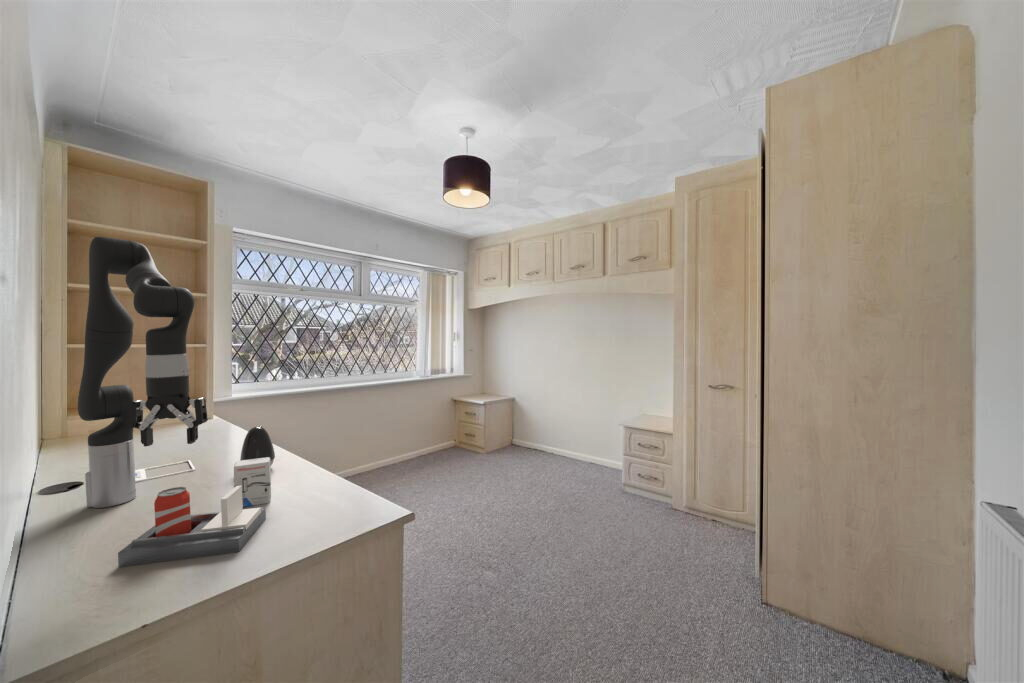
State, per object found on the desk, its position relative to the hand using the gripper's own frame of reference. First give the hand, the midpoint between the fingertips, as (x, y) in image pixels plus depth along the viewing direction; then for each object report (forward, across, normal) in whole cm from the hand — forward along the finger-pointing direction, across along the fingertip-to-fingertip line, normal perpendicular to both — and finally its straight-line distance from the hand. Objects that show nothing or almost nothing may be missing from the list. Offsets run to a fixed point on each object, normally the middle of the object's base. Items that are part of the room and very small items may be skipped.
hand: (170, 444), depth 94 cm
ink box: (+23, +10, +18) cm, 31 cm away
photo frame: (+24, -32, +55) cm, 68 cm away
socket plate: (+22, +6, -2) cm, 23 cm away
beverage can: (+22, +1, -2) cm, 23 cm away
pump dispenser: (+23, +1, +48) cm, 53 cm away
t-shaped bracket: (+19, +13, -2) cm, 23 cm away
